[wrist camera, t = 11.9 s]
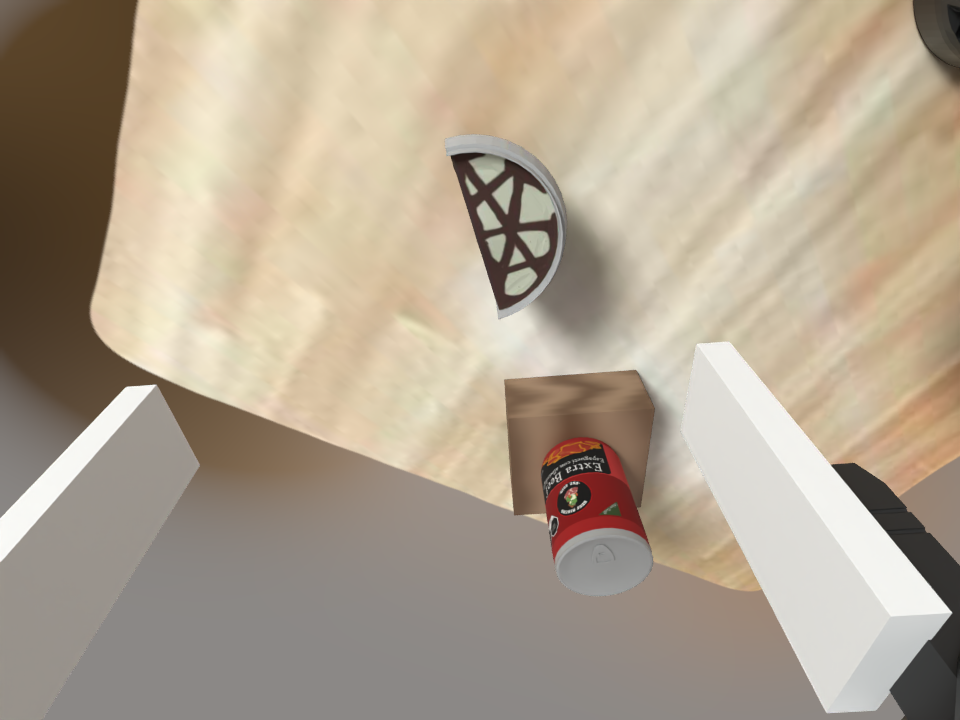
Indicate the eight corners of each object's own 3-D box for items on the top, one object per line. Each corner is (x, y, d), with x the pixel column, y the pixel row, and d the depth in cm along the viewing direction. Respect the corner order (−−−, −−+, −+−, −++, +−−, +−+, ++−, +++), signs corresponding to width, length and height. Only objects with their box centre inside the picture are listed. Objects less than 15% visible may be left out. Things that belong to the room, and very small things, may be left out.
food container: (564, 248, 43) (587, 302, 34) (494, 268, 44) (500, 325, 35) (530, 91, 36) (549, 110, 28) (449, 118, 37) (443, 145, 29)
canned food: (597, 421, 45) (629, 521, 36) (633, 474, 49) (670, 576, 40) (523, 456, 48) (536, 559, 38) (563, 504, 51) (583, 607, 42)
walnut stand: (636, 370, 50) (654, 408, 45) (625, 464, 57) (640, 507, 52) (504, 379, 50) (508, 418, 45) (510, 472, 57) (514, 515, 52)
